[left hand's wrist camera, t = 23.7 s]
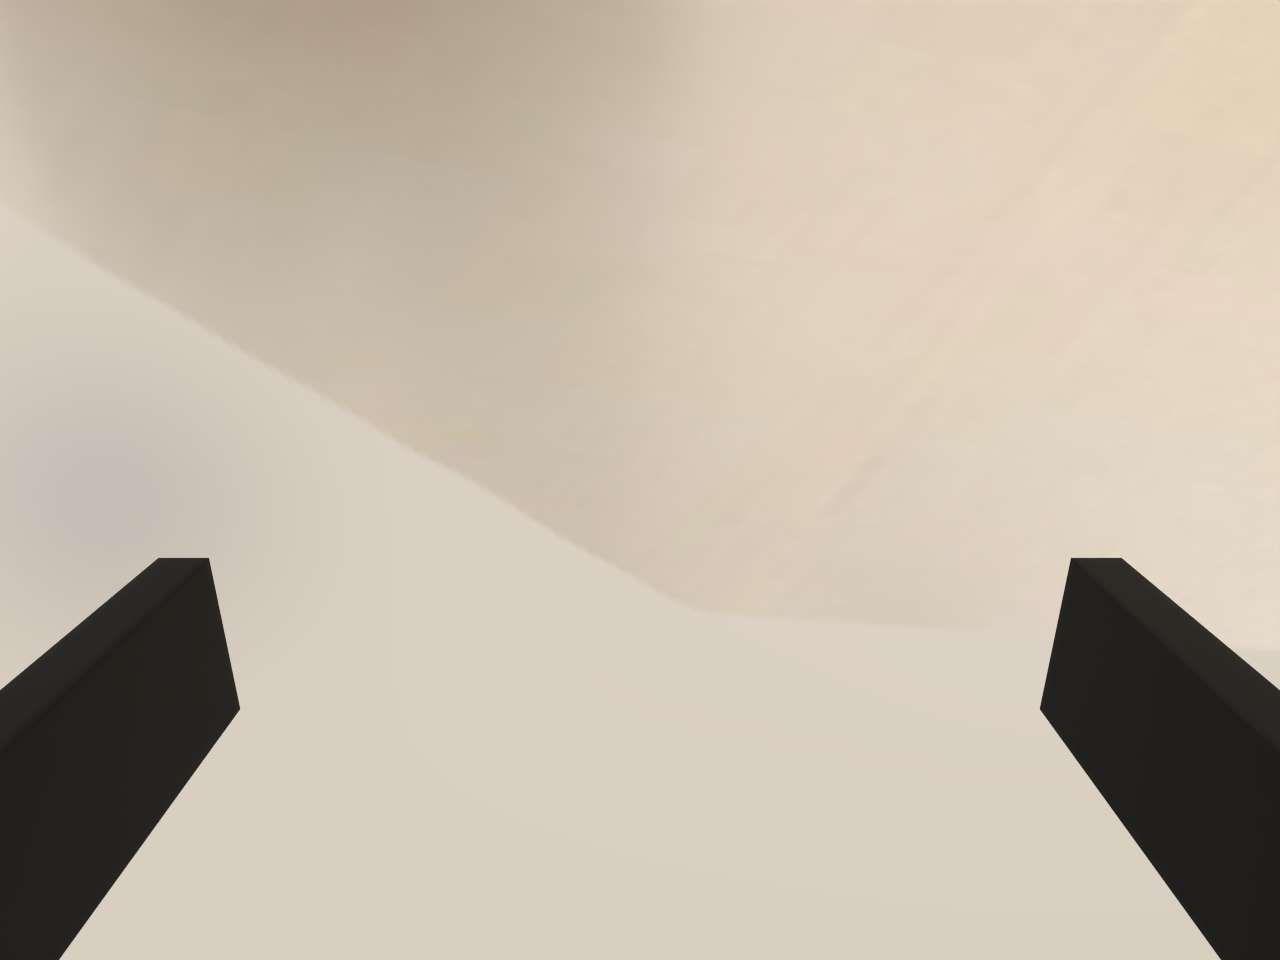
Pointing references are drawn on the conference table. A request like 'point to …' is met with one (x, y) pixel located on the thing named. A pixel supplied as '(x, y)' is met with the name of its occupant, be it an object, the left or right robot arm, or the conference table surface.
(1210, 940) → the left robot arm
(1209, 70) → the conference table surface
